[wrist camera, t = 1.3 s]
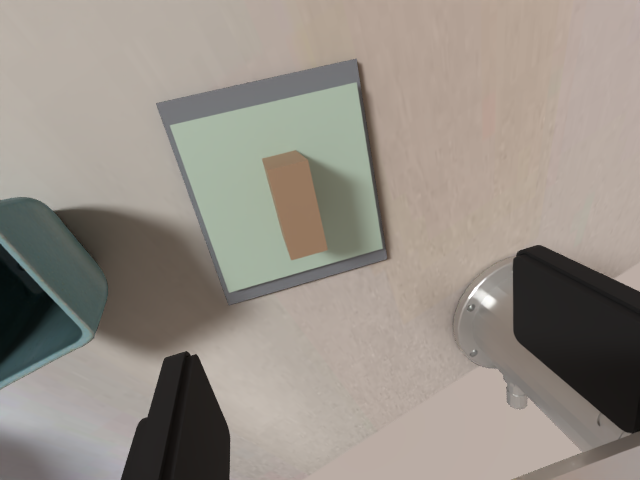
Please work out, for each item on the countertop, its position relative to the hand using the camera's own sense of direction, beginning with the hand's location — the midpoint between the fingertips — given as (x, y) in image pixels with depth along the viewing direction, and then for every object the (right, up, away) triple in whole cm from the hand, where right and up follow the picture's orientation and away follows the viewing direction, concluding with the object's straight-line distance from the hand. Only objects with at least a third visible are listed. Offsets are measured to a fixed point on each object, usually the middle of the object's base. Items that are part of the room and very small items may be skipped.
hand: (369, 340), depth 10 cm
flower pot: (-21, +2, +16) cm, 27 cm away
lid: (-4, +7, +18) cm, 19 cm away
